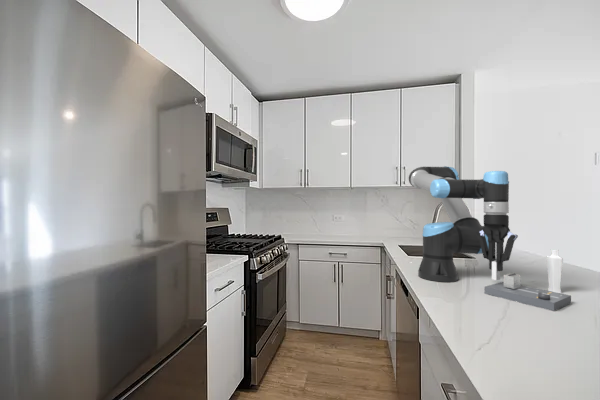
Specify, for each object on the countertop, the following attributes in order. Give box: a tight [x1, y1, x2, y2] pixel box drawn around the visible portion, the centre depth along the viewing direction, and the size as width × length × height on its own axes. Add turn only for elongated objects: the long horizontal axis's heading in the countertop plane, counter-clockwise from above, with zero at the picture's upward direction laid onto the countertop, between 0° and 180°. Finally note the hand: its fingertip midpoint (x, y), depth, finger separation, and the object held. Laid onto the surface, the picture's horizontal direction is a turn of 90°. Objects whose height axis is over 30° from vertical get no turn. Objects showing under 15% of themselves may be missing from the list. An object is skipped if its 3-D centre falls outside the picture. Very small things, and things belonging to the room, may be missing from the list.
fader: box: [503, 272, 521, 289], centre depth 99 cm, size 3×5×4 cm, turn 121°
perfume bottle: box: [546, 249, 564, 294], centre depth 104 cm, size 5×4×15 cm
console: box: [483, 281, 572, 312], centre depth 96 cm, size 19×14×4 cm
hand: (495, 279), depth 103 cm, fingers closed
